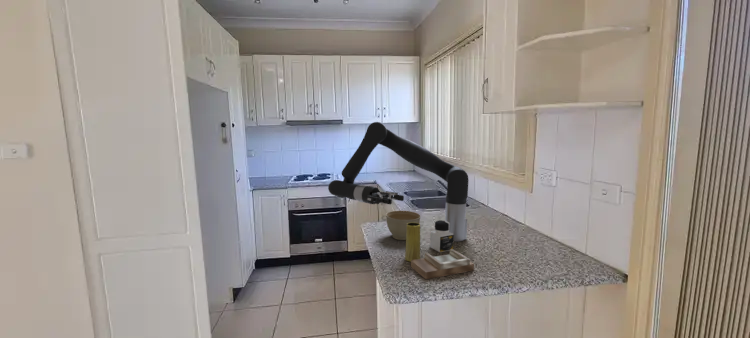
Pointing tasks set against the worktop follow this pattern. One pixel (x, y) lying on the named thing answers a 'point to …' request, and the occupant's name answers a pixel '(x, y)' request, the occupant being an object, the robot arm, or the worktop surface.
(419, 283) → the worktop surface
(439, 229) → the medicine bottle
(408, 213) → the planter bowl
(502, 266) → the worktop surface
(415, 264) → the dock
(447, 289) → the worktop surface
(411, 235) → the vase
